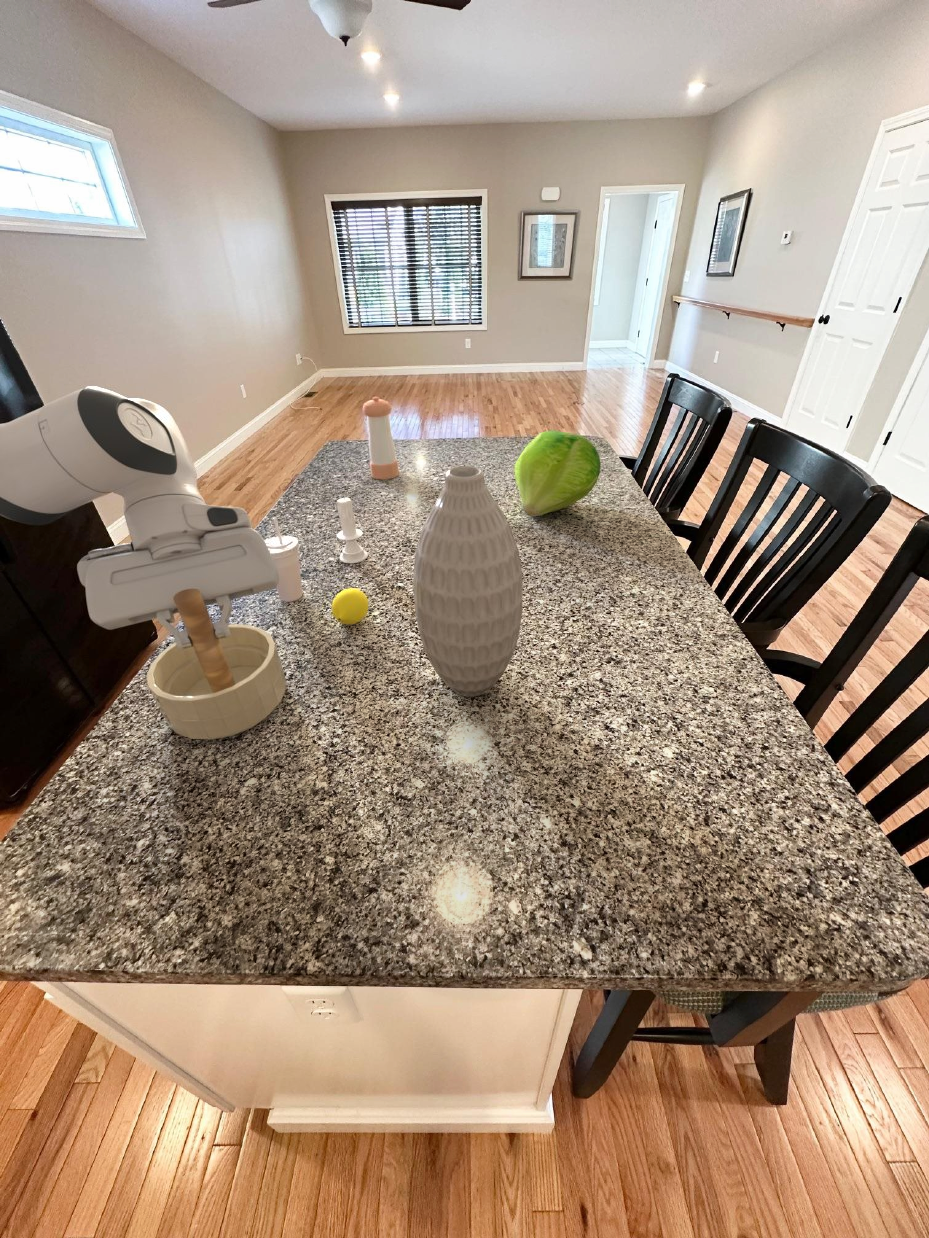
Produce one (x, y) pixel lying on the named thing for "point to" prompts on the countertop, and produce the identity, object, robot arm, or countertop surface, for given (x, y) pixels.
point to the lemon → (350, 606)
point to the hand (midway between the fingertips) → (205, 642)
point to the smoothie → (286, 564)
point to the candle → (349, 533)
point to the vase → (468, 585)
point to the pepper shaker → (380, 439)
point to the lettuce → (556, 471)
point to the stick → (204, 639)
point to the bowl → (228, 710)
